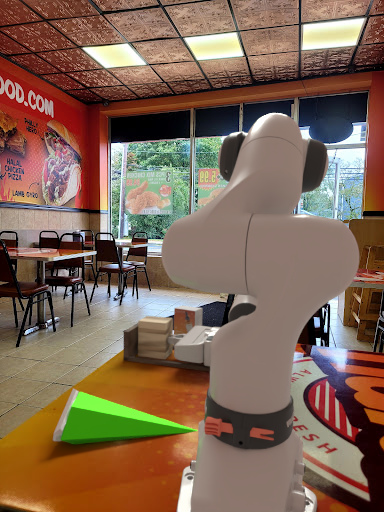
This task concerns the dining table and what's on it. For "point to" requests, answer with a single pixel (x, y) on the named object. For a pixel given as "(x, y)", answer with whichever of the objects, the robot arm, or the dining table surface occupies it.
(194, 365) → the bay
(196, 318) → the small box
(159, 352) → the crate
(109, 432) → the paper cone
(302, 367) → the dining table surface
